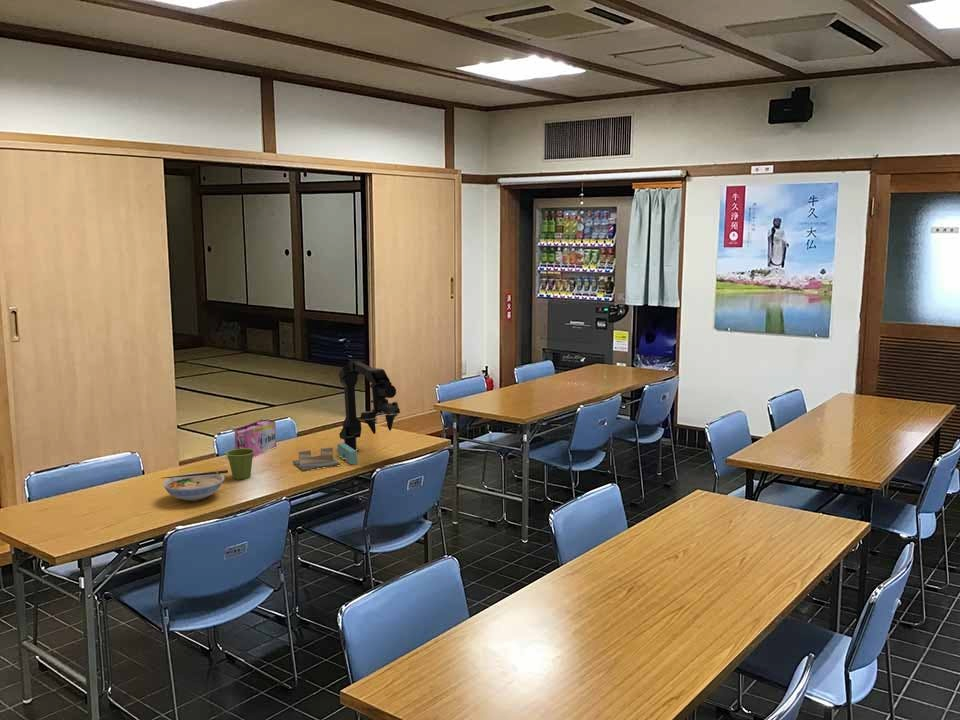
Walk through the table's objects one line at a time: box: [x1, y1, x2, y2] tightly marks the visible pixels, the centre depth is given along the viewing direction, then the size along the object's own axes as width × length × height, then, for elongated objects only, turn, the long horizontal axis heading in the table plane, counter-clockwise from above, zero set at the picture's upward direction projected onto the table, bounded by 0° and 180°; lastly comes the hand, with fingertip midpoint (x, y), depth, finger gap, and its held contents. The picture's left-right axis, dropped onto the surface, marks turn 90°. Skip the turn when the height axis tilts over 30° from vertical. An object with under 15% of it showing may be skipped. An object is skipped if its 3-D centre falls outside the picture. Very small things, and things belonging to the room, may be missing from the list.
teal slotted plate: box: [337, 442, 358, 465], centre depth 366 cm, size 18×3×6 cm, turn 28°
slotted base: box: [292, 446, 341, 472], centre depth 359 cm, size 16×17×7 cm
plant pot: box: [225, 448, 255, 481], centre depth 340 cm, size 12×12×11 cm
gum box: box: [234, 419, 277, 458], centre depth 381 cm, size 24×8×14 cm, turn 161°
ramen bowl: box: [160, 469, 229, 502], centre depth 312 cm, size 25×23×8 cm
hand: (382, 432), depth 359 cm, fingers open, 9 cm apart
